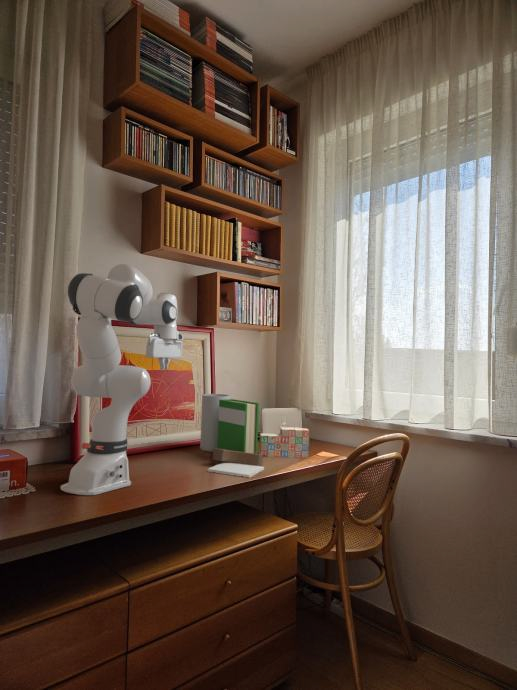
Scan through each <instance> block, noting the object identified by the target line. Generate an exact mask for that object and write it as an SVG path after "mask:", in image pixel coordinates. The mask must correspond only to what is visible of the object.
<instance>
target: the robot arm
mask: <svg viewBox="0 0 517 690" xmlns="http://www.w3.org/2000/svg"><path fill="white" fill-rule="evenodd" d="M153 292H154V290H153V285H152V282H151V281H150V280H149V278H148V277H147V276H146V275H145V274H143V272H142V271H140V270H139V269H137V268H136V267H134V266H132V265H130V264H127V263H118V264H116V265H114V266H113V267H111V269H110V270H109V271H108V274H107V277H105V276H104V277H103V276H100V275H99V276H98V275H94V274H92V273H88V272H87V273H85V272H84V273H83V272H82V273H77V274H76V275H74V276H73V277H72V279H71V280H70V281H69V283H68V286H67V296H68V297H67V298H68V300H69V303H70V304H71V306H72V310H73V312H74V313H75V314H76V315H78V316H79V315H80V316H81V317H80V318H79V319H78V321H77V324H76V329H75V330H76V338H77V342H78V343H77V344H78V346H79V350H80V352H81V355H82V359H83V361H84V363H83V364H81V365H79V366H77V368H75V370H74V371H73V373H72V376H71V378H70V379H71V381H70V383H71V387H72V390H73V391H74V393H76V394H77V395H79V396H83V397H88V398H109V399H111V401H110V404H109V406H106V407H103V408H102V409H100V410H97V411H96V412H95V414H94V415H93V417H92V421H91V422H92V424H91V439H90V440H89V442H82V444H81V449H83V450H86V453H85V454H84V455H83V456H82V457H81V458H80V459H79V460H78V461H77V463H76V464H75V465H73V467H71V470H70V473H69V477H68V482H66V483H64V484H62V485H60V491H63V492H65V493H68V494H75V495H79V496H96V495H100V494H103V493H107V492H110V491H114V490H118V489H121V488H125V487H129V486H131V485H132V481H131V480H130V475H129V474H130V473H129V472H130V471H129V458H128V456H127V450H128V446H129V445H128V444H129V443H128V437H127V430H128V429H127V427H128V420H129V416H130V413H131V410H132V409H133V407H134V405H135V404H136V403H137V402H138V401H139V400H140V399H142V398H143V397H145V396H146V394H147V393H148V392H149V390H150V388H151V384H152V382H151V381H152V380H151V376H150V373H149V372H148V371H147V369H146V368H144V367H139V366H135V365H122V364H120V363H121V361H122V352H121V348H120V344H119V340H118V337H117V335H116V331H115V329H114V328H113V326H112V320H117V321H118V322H123V323H128V324H130V325H131V326H139V325H149V326H151V325H152V326H153V325H154V327H153V328H154V329H153V333H150V335H149V336H148V339H147V342H146V346H145V347H146V348H145V356H146V357H147V358H150V359H152V358H153V359H154V358H155V359H157V360H158V365H159V369H160V370H168V369H169V365H170V362H171V359H181V358H182V355H183V347H184V346H183V340H184V335H183V334H182V333H180V332H179V331H178V326H177V319H178V300H177V296H176V295H175V294H173V293H169V292H160V293H158V294H157V295H156V298H155V299H153V298H152V297H153V294H154V293H153Z"/></svg>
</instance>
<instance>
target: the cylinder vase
mask: <svg viewBox="0 0 517 690" xmlns="http://www.w3.org/2000/svg"><path fill="white" fill-rule="evenodd" d="M225 399H230V395H229V394H224V393H223V394H222V393H205V394H202V395H201V416H200V417H201V420H200V421H201V422H200V444H199V445H200V446H199V447H200V450H201V451H203V452H206V453H207V452H209V453H213V449H214V448H218V422H219V400H225Z"/></svg>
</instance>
